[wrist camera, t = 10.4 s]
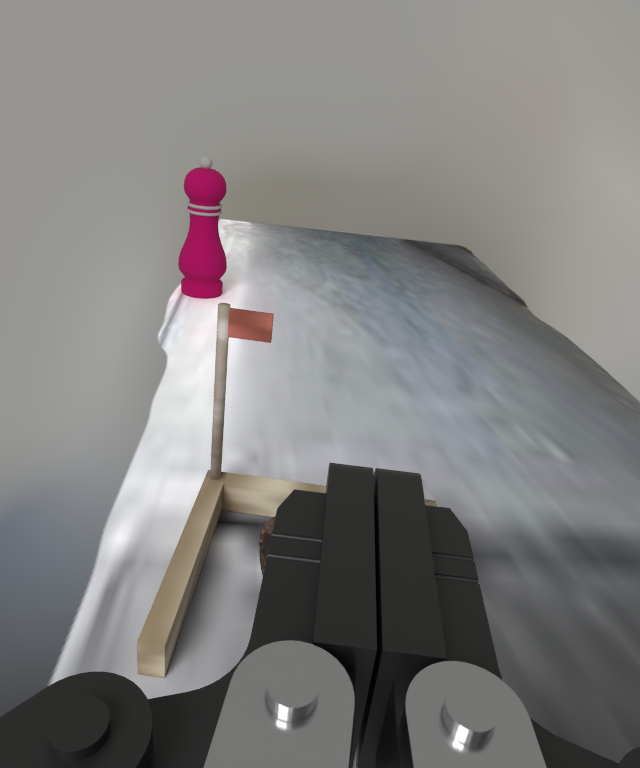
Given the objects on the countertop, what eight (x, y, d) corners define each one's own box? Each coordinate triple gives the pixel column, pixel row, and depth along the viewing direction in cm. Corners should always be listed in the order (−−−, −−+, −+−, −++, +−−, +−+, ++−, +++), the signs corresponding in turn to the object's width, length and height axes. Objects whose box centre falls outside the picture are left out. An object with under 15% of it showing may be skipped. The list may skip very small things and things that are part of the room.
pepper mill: (200, 302, 89) (205, 160, 80) (168, 289, 92) (169, 152, 84) (234, 294, 94) (242, 160, 86) (202, 282, 98) (207, 152, 89)
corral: (429, 526, 48) (477, 335, 41) (459, 718, 33) (542, 471, 26) (207, 495, 48) (215, 300, 41) (137, 673, 33) (132, 415, 26)
